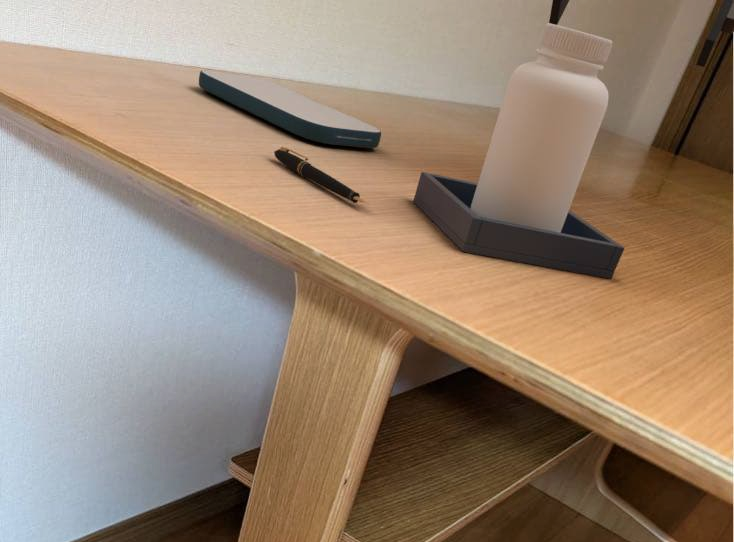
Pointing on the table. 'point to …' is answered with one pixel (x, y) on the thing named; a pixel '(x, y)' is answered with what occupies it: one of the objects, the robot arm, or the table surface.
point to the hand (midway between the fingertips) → (628, 32)
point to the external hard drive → (290, 110)
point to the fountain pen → (315, 174)
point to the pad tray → (515, 232)
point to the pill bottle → (545, 132)
